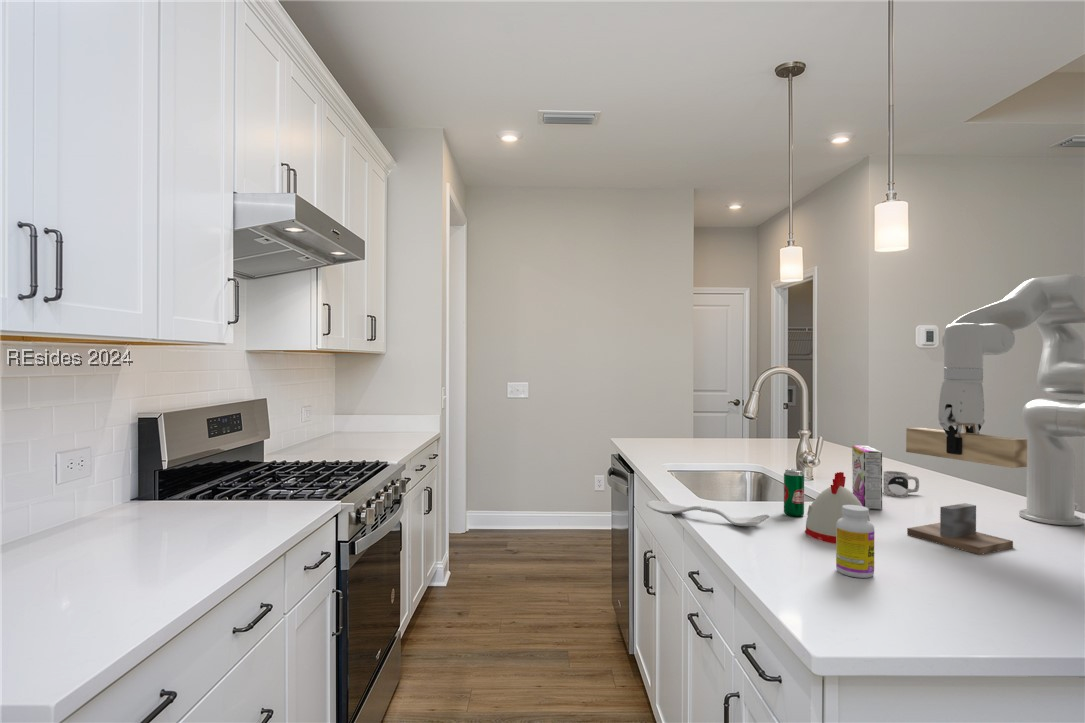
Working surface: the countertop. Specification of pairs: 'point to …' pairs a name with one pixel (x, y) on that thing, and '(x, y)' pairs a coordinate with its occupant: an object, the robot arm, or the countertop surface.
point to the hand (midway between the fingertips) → (962, 452)
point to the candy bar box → (867, 476)
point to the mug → (898, 483)
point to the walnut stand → (960, 531)
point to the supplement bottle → (855, 542)
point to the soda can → (794, 492)
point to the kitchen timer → (829, 510)
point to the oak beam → (969, 447)
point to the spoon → (674, 509)
